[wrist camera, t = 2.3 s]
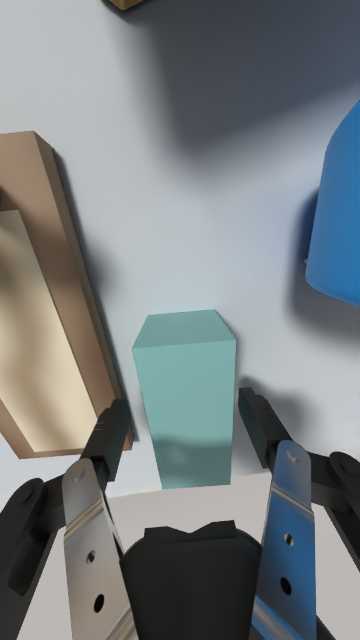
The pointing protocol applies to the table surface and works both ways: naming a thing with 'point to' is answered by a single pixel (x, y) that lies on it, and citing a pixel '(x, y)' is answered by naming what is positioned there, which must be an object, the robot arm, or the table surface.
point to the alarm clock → (338, 217)
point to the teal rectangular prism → (188, 395)
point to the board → (46, 313)
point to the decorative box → (125, 3)
